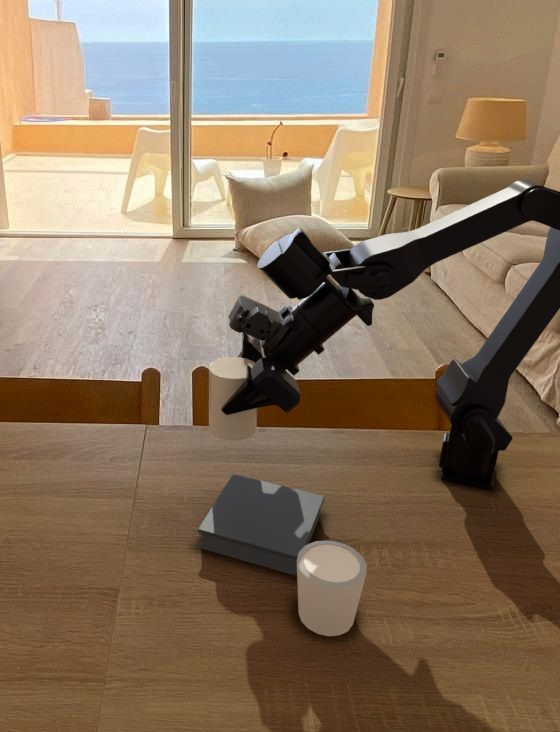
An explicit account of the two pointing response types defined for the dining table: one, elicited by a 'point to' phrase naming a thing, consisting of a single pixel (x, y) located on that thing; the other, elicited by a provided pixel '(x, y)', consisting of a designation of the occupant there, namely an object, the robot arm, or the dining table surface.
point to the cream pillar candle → (222, 386)
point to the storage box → (261, 523)
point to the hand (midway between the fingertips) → (222, 399)
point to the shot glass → (329, 586)
